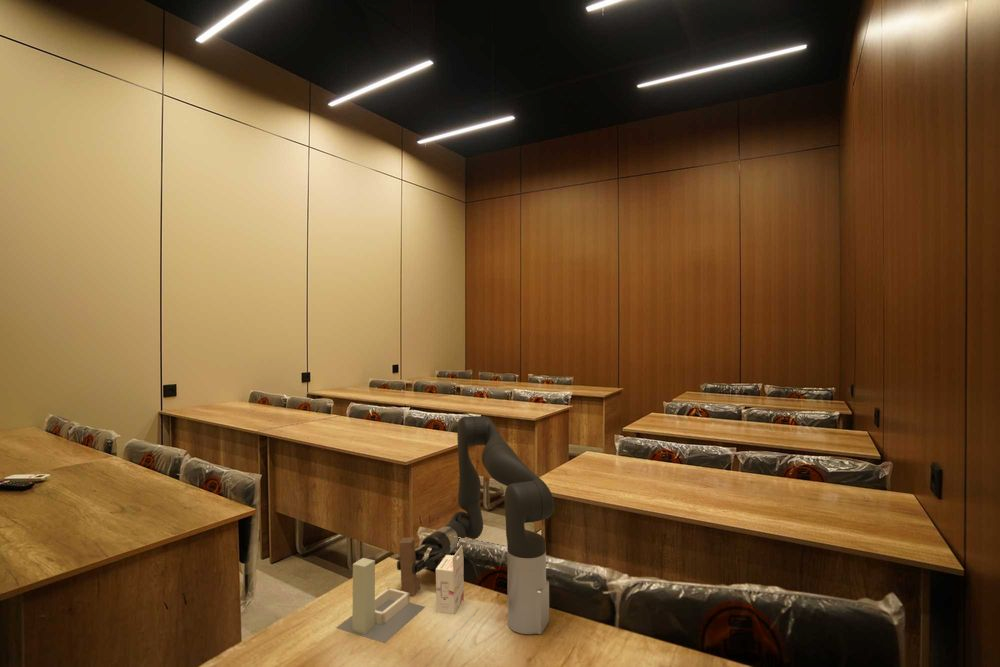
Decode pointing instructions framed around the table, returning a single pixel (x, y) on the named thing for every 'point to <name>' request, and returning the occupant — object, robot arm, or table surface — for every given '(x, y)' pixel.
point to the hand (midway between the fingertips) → (406, 568)
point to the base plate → (387, 615)
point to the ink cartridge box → (450, 583)
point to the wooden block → (408, 566)
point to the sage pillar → (363, 595)
